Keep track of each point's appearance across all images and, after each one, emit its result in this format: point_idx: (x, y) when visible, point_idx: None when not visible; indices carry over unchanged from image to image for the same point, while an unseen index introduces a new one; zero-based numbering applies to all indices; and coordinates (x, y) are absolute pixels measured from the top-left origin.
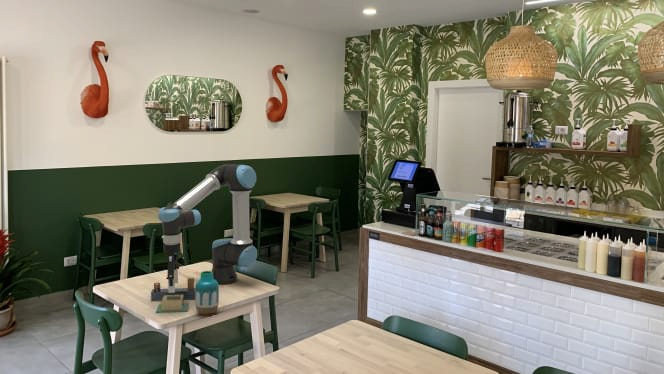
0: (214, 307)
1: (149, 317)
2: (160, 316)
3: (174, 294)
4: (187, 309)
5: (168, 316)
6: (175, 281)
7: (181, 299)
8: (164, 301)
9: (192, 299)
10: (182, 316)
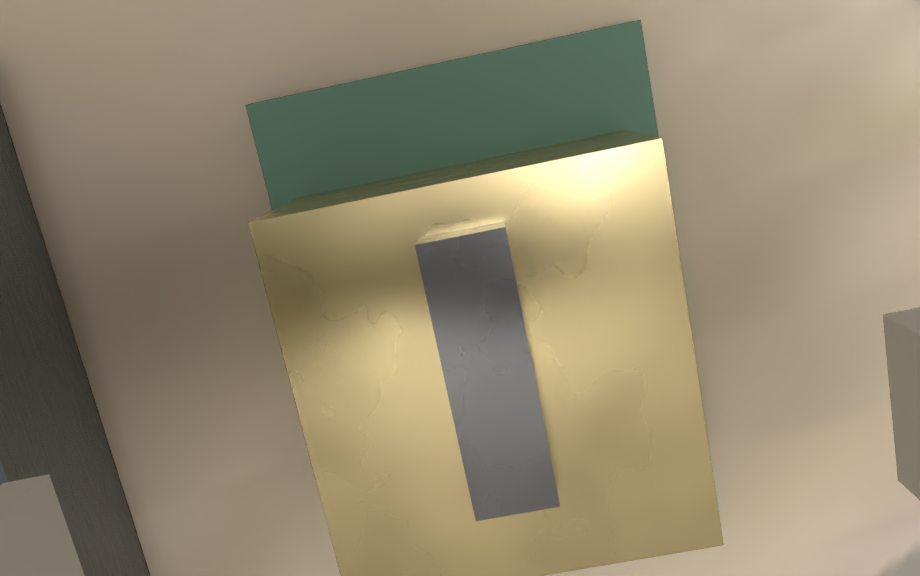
0: None
1: (906, 551)
2: (867, 406)
3: (45, 465)
4: (593, 34)
5: (871, 281)
6: (47, 569)
7: (588, 168)
8: (711, 487)
9: (2, 122)
10: (879, 39)
